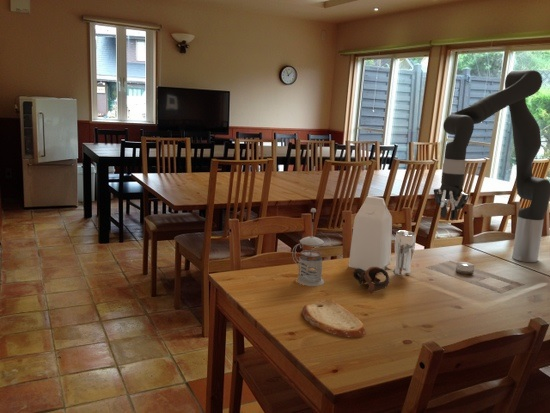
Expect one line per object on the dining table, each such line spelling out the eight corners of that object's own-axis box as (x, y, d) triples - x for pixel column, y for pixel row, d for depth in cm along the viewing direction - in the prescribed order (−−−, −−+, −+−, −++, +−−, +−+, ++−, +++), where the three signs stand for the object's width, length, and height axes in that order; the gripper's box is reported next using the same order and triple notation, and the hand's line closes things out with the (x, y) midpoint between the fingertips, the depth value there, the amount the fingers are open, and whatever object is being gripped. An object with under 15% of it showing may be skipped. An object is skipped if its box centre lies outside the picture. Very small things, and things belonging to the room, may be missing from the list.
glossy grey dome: (461, 268, 180) (462, 260, 179) (476, 273, 175) (477, 265, 174) (452, 271, 176) (453, 263, 175) (467, 276, 171) (468, 268, 171)
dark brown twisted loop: (387, 285, 165) (394, 269, 159) (380, 306, 158) (387, 290, 152) (353, 272, 167) (358, 256, 162) (345, 292, 160) (350, 276, 155)
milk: (390, 265, 184) (396, 197, 179) (379, 273, 175) (385, 202, 169) (360, 259, 191) (365, 193, 185) (348, 266, 181) (353, 197, 176)
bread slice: (366, 340, 125) (367, 326, 124) (296, 332, 128) (297, 319, 127) (366, 312, 142) (367, 299, 142) (304, 305, 145) (305, 293, 145)
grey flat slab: (450, 263, 189) (450, 260, 188) (524, 287, 166) (524, 284, 166) (425, 270, 180) (425, 267, 180) (500, 296, 157) (500, 292, 157)
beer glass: (410, 271, 179) (414, 231, 176) (413, 277, 172) (417, 236, 169) (391, 269, 179) (394, 230, 176) (393, 276, 172) (397, 235, 169)
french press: (316, 288, 158) (320, 213, 153) (285, 280, 164) (288, 207, 159) (329, 280, 166) (333, 208, 161) (299, 272, 172) (302, 203, 167)
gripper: (477, 173, 172) (471, 221, 175) (442, 168, 183) (438, 213, 187) (464, 175, 168) (459, 224, 171) (430, 169, 179) (425, 215, 182)
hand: (448, 218), depth 179 cm, fingers open, 3 cm apart
